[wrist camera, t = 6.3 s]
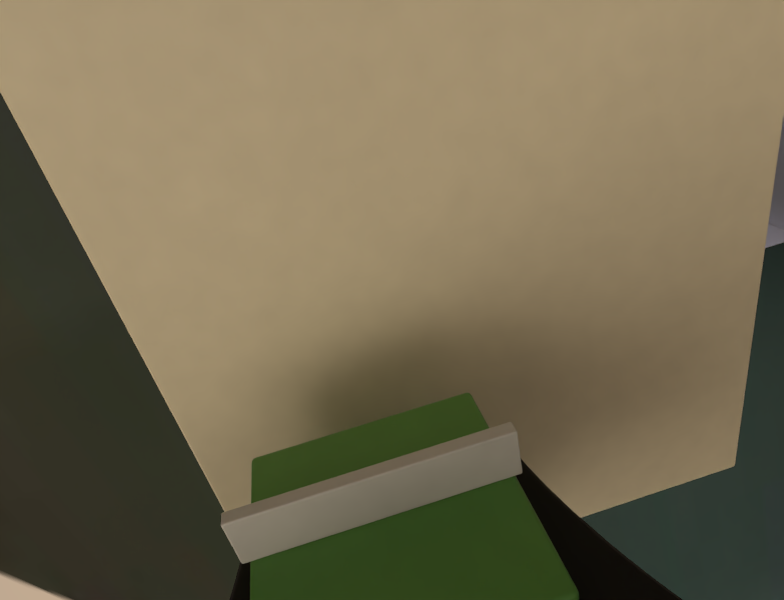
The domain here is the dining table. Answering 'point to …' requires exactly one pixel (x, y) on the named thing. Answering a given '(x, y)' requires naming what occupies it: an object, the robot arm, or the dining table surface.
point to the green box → (398, 515)
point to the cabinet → (422, 215)
